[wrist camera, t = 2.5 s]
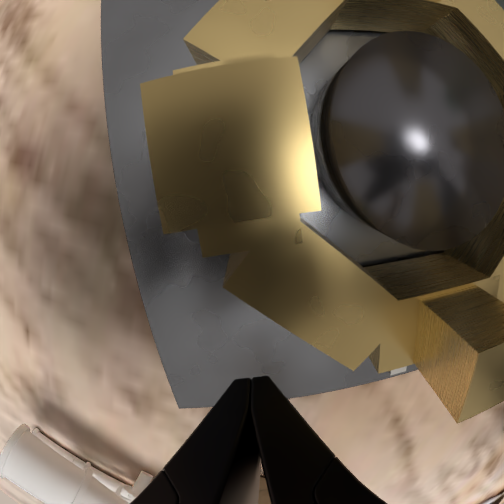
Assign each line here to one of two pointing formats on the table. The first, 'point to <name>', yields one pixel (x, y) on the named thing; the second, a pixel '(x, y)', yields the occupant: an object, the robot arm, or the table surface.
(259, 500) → the handle
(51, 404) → the table surface
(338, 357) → the octagonal socket base
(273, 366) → the cap plate
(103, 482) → the white tapered multi-tube piece
